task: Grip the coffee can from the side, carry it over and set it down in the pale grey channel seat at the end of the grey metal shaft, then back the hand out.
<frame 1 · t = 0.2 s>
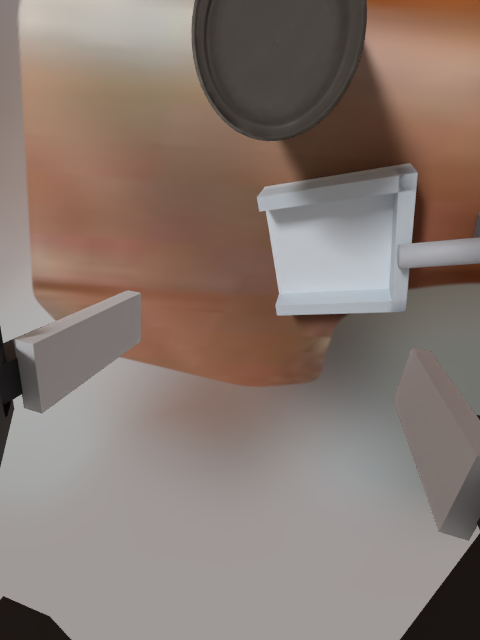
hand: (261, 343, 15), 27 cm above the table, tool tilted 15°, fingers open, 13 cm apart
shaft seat: (335, 241, 39), on the table
coffee can: (299, 57, 30), on the table
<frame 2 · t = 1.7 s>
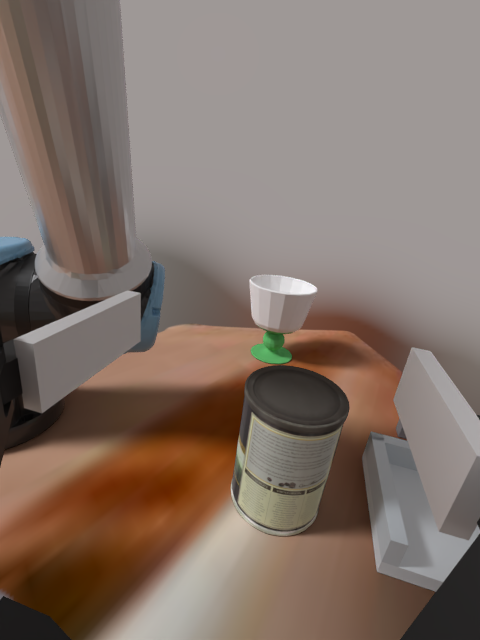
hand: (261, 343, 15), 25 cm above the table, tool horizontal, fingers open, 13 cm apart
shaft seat: (437, 525, 36), on the table
coffee can: (273, 494, 37), on the table
cup: (271, 354, 70), on the table
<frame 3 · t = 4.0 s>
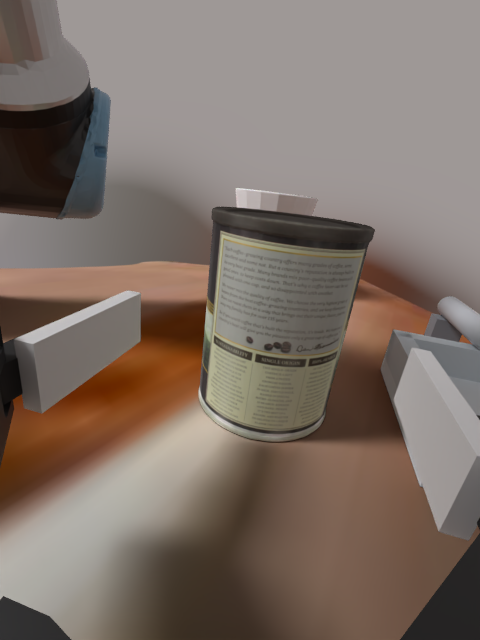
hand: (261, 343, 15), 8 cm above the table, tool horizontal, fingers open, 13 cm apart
coffee can: (260, 399, 26), on the table
cup: (262, 286, 59), on the table
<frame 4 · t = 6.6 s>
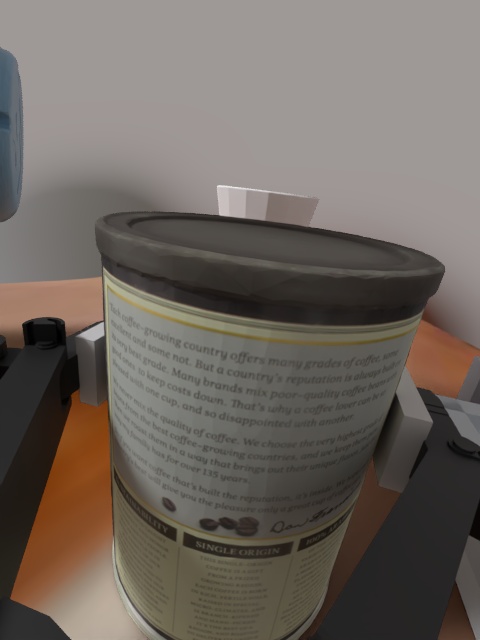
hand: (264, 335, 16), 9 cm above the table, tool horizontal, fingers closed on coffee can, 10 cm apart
coffee can: (223, 530, 16), on the table, touching gripper
cup: (252, 305, 48), on the table
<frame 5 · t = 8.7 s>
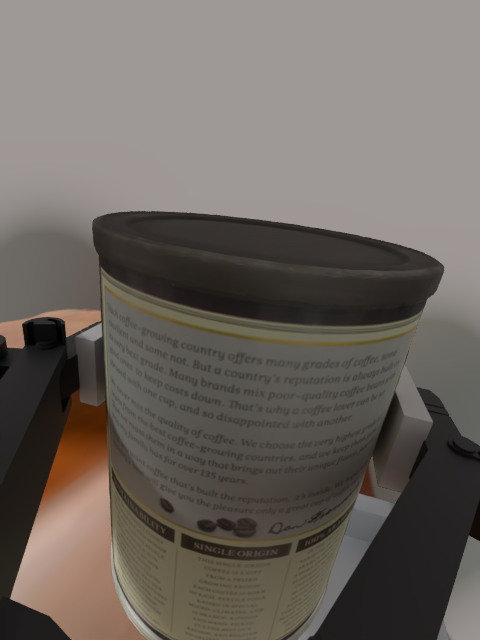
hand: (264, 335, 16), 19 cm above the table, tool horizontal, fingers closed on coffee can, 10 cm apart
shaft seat: (295, 623, 21), on the table
coffee can: (222, 531, 16), point 10 cm above the table, touching gripper
when the fingers open (11 cm above the table, at t = 11.2 s): coffee can drops 1 cm, resting on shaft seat.
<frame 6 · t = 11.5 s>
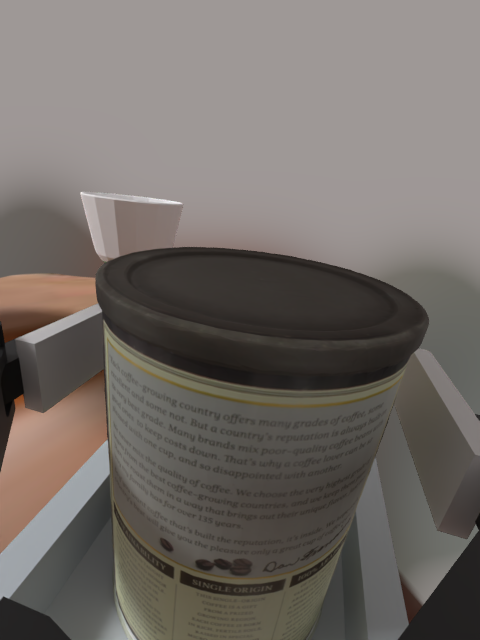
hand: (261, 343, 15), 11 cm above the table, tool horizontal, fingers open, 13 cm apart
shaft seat: (218, 567, 17), on the table
coffee can: (220, 553, 16), point 1 cm above the table, touching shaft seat
cup: (134, 305, 51), on the table
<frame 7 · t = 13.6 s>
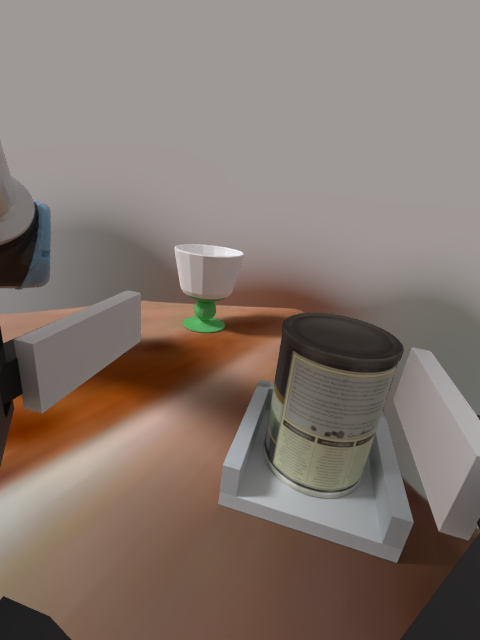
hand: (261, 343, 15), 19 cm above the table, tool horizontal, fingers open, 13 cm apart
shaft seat: (308, 467, 34), on the table
coffee can: (310, 458, 33), point 1 cm above the table, touching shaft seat
cup: (203, 325, 68), on the table
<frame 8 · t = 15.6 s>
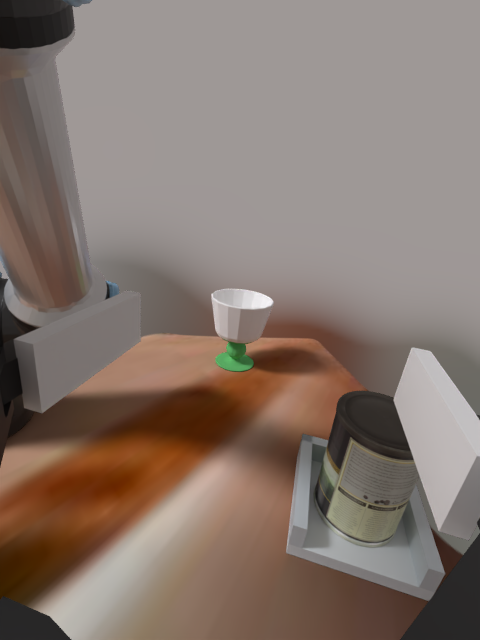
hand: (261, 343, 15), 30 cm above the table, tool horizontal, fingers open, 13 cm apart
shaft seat: (350, 514, 41), on the table
coffee can: (353, 508, 41), point 1 cm above the table, touching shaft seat
cup: (234, 362, 75), on the table
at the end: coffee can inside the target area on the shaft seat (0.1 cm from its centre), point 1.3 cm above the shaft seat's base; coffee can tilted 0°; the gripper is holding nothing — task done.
